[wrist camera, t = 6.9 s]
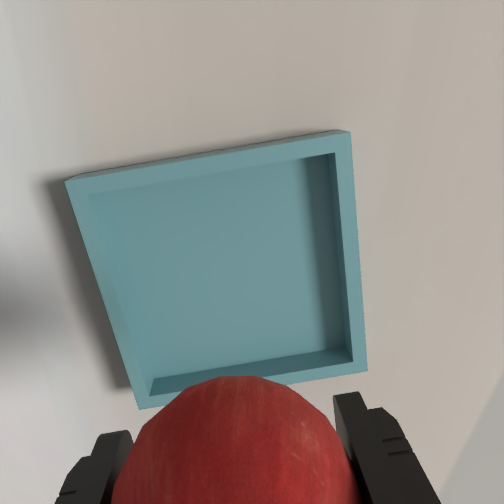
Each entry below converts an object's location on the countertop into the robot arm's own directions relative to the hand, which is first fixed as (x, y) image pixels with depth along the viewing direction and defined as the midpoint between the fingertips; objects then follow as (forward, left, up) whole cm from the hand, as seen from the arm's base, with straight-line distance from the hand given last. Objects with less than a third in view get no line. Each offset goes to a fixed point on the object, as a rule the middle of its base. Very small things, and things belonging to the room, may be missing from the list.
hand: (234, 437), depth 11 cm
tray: (0, 0, -12) cm, 12 cm away
